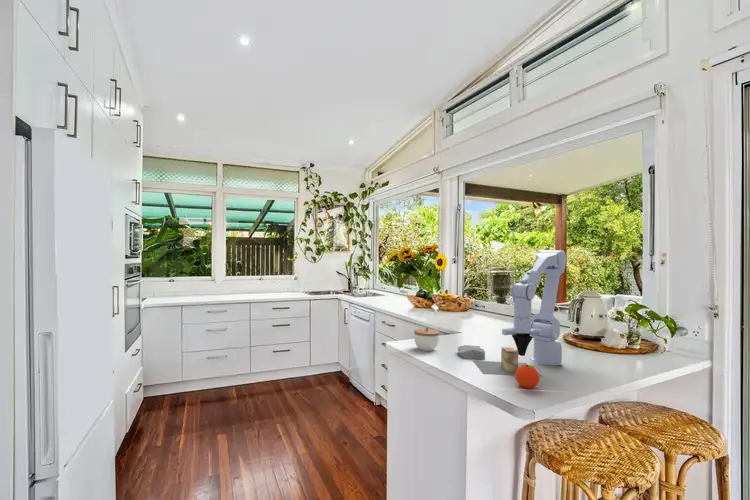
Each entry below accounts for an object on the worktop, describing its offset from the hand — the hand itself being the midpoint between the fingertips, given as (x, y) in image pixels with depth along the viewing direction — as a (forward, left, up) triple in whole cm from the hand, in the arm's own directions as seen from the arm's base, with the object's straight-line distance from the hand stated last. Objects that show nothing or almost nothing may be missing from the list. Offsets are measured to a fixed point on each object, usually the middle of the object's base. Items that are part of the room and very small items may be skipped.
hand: (521, 355), depth 130 cm
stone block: (+14, -17, -6) cm, 23 cm away
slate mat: (+5, -1, -5) cm, 8 cm away
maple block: (+4, 0, -5) cm, 7 cm away
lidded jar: (+31, -25, -6) cm, 40 cm away
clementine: (+4, +18, -6) cm, 19 cm away
